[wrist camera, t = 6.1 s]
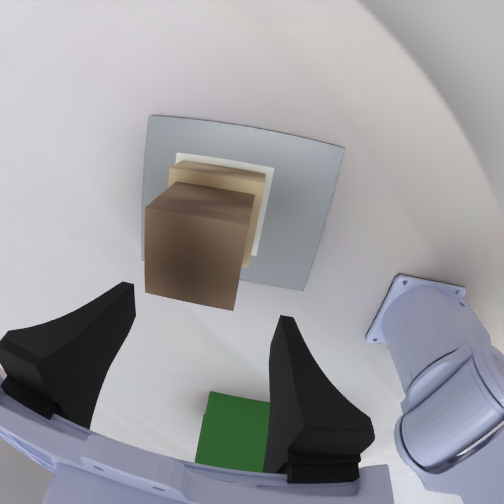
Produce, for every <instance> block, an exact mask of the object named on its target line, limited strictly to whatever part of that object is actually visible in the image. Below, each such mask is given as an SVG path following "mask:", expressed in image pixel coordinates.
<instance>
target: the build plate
mask: <svg viewBox="0 0 504 504" xmlns="http://www.w3.org/2000/svg"><path fill="white" fill-rule="evenodd" d="M344 149H345V148H343V147H339V146H336V145H332V144H328V143H324V142H320V141H316V140H312V139H307V138H303V137H299V136H294V135H290V134H285V133H280V132H275V131H270V130H264V129H259V128H253V127H247V126H241V125H235V124H228V123H221V122H214V121H206V120H197V119H188V118H177V117H165V116H149V120H148V129H147V138H146V149H145V161H144V175H143V194H142V261H144V233H145V207H146V206H147V205H149V204H150V203H151V202H152V201H153V200H154V199H156V198H157V197H158V196H159V195H160V194H162V193H163V192H164V191H165V190H166V189H168V181H169V170H170V167H172V166H173V165H175V164H177V163H178V162H180V161H182V160H186V161H193V162H200V163H207V164H213V165H220V166H226V167H232V168H238V169H244V170H249V171H255V172H260V173H265V174H266V181H265V187H264V192H263V197H262V202H261V207H260V212H259V217H258V222H257V227H256V232H255V237H254V242H253V247H252V252H251V257H250V262H249V267H248V268H246V267H241V272H240V277H239V280H243V281H249V282H254V283H260V284H266V285H271V286H277V287H283V288H289V289H294V290H300V291H304V289H305V285H306V282H307V279H308V276H309V273H310V270H311V267H312V264H313V261H314V257H315V254H316V251H317V248H318V244H319V241H320V238H321V234H322V231H323V228H324V224H325V221H326V217H327V214H328V210H329V207H330V203H331V199H332V196H333V192H334V188H335V185H336V181H337V177H338V173H339V169H340V165H341V161H342V157H343V153H344Z"/></svg>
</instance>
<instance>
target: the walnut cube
mask: <svg viewBox="0 0 504 504" xmlns="http://www.w3.org/2000/svg"><path fill="white" fill-rule="evenodd" d="M254 197H255V195H254V194H248V193H243V192H237V191H232V190H226V189H220V188H214V187H208V186H202V185H196V184H190V183H183V182H175V183H174V184H172V185H171V186H170V187H169V188H168V189H166V190H165V191H164V192H163V193H162V194H160V195H159V196H158V197H157V198H156V199H154V200H153V201H152V202H151V203H150V204H149V205H147V206H146V207H145V233H144V262H145V292H146V293H150V294H155V295H159V296H163V297H168V298H172V299H177V300H181V301H186V302H191V303H196V304H200V305H205V306H210V307H215V308H221V309H226V310H231V311H233V310H234V304H235V299H236V293H237V288H238V283H239V277H240V272H241V266H242V261H243V256H244V250H245V245H246V240H247V235H248V229H249V224H250V219H251V213H252V208H253V202H254Z"/></svg>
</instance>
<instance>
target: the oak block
mask: <svg viewBox="0 0 504 504" xmlns="http://www.w3.org/2000/svg"><path fill="white" fill-rule="evenodd" d="M265 181H266V174H265V173H260V172H255V171H249V170H244V169H238V168H232V167H226V166H220V165H213V164H207V163H200V162H193V161H186V160H182V161H180V162H178V163H177V164H175V165H173V166H172V167H170V170H169V181H168V188H169V187H170V186H171V185H172V184H174V183H175V182H183V183H190V184H196V185H202V186H208V187H214V188H220V189H226V190H232V191H237V192H243V193H248V194H254V195H255V197H254V202H253V208H252V213H251V219H250V224H249V229H248V235H247V240H246V245H245V250H244V256H243V261H242V266H241V267H246V268H248V267H249V262H250V257H251V252H252V247H253V242H254V237H255V232H256V227H257V222H258V217H259V212H260V207H261V202H262V197H263V192H264V187H265Z"/></svg>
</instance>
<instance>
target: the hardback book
mask: <svg viewBox="0 0 504 504" xmlns="http://www.w3.org/2000/svg"><path fill="white" fill-rule="evenodd" d="M269 414H270V402H263V401H257V400H251V399H246V398H240V397H235V396H230V395H225V394H220V393H216V392H211V391H210V394H209V398H208V403H207V409H206V414H204V417H203V422H202V427H201V432H200V437H199V442H198V447H197V452H196V458H195V463H198V464H203V465H208V466H214V467H220V468H226V469H233V470H240V471H249V472H258V473H262V471H263V465H264V458H265V451H266V443H267V434H268V425H269Z"/></svg>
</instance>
